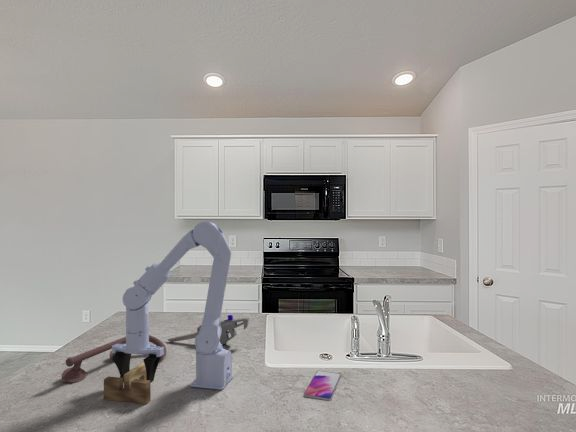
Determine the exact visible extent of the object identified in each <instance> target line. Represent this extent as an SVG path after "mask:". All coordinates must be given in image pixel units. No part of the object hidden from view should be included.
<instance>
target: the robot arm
mask: <svg viewBox="0 0 576 432" xmlns="http://www.w3.org/2000/svg"><path fill="white" fill-rule="evenodd" d="M199 246H201V247H203V248H204V249H206V250H207V251H208V253H209V254H210V255H211V256H212V257H213V261H212V266H211V273H210V277H209V283H208V284H209V285H208V289H207V294H206V300H205V307H204V313H203V316H202V317H203V318H202V322H201V324H200V325H201V328H200V331H199V333H198V335H197V336H196V338H194V345H195V379H194V380H193V381H192V382H191V383H189V387H191V388H200V389H211V390H220V391H221V390H224V388H225V387H226V386H227V385H228V384H229V383H230V381H231V380H232V378H233V377H234V375H233V354H232V351H231V350H227V349H225V348H223V345H222V344H221V343H220V341H219V340H220V336H221V334H222V328H221V325H220V321H222V320H221V317H222V311H223V304H224V300H225V295H226V294H225V293H226V287H227V281H228V275H229V269H230V263H231V258H232V250H231V248H230V245H229V243H228V240H227V239H226V236H225V233H224V231H223V230H222V229H221V228H220V227H219V226H218V225H217V223H215V222H213V221H200V222H198V223H197V224H196V225H195V226H194V227H193V229H190V230H189V231H188V232H187V233H186V234H185V235H184V236H182V237H181V239H180V240H179V241H178V242H177V243H176V244H175V246H173V248H172V249H171V250H170V251H169V253H168V254H167V255H166V256H165V257H164V259H163V260H162V261H161V262H159V263H157V262H156V263H155V262H154V263H153V264H151V265H148V266H146V267H145V269H144V270H145V271H144V273H143V274H142V275H141V276H140V277H139V278H138V279H136V280H134V281H133V283H132V284H133V285H134V286H131V287H129V288H127V289H126V290H125V292H124V293H123V295H122V304H123V305H124V306H125V337H126V344H115V345H113V346H112V349H111V351H112V353H116V354H115V356H113V357H112V359H111V360H112V361H113V363H114V364H115V366H116V368H117V370H118V373H119V377H120V376H121V378H123V381H124V374H126V373H127V372H129V371H130V370H131V369H130V365H131V359H132V355H133V354H134V355H141V356H142V355H143V356H146V357H145V358H144V359H143V362H144V364H145V368H146V380H150V384H151V383H153V382H154V380H155V375H156V372H157V369H158V366H159V364H160V360H161V358H162V355H163V354H164V347H159V346H156V345H155V344H153V343H151V344H150V342H149V335H150V318H149V317H150V315H149V313H150V312H149V302H150V301H151V300H152V296H154V294H156V292H158V291H159V289H160V288H161V287H162V286H164V284H165V283H166V282H167V281H168V279H170V276H171V275H170V272H171V271H170V270H171V269H172V268H173V267H174V266H175V265H176V264H177V263H179V261H180V260H181V259H182V258H183V257H184V256H185V255H187V253H188V252H189V251H190V250H192V249H194V248H197V247H199Z"/></svg>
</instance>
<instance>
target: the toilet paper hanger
mask: <svg viewBox="0 0 576 432" xmlns="http://www.w3.org/2000/svg"><path fill="white" fill-rule="evenodd" d="M149 343H151V344H152V345H155V346H159V347H164V354H163V355H162V358H161V360H160V362H162V361H163V360H164V359H165V357H166V356H167V348H166V345H165V344H164V342H163V341H161V340H160V339H159V338H157V337H155V336H153V335H150V334H149ZM115 344H126V336H124V337H121V338H119V339H116V340H113V341H111V342H108V343H106V344H104V345H99V346H98V347H95V348H92V349H90V350H88V351H85V352H82V353H80V354H77V355H75V356H72V357H67V358H66V360H65V365H66V366H67V368H66V369H64V370H63V372H62V373H61V379H62V381H63V382H66V383H67V384H76V383H78V382H82V381H83V380H85V378H86V377H87V372H86V370H85V369H83V368H81V366H82V363H83V361H85V360H88V359H90V358H92V357H95V356H97V355H100V354H102V353H105V352H107V351H109V350H111V351H110V352H109V358H110V359H111V360H112V357H113V356H115V354H116V353H112V346H113V345H115ZM160 362H159V363H160ZM119 378H121V376H120V375H119ZM123 383H124V381H123Z"/></svg>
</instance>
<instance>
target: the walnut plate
mask: <svg viewBox="0 0 576 432" xmlns="http://www.w3.org/2000/svg"><path fill="white" fill-rule="evenodd" d="M151 398H152V397H151V383H150V380H140V379H134V380H133V381H131V389H130V388H124V382H123V378H120V376H107V377H106V378H103V400H106V401H113V402H125V403H133V404H140V405H141V404H144V405H147V404H149V403H150V402H151Z"/></svg>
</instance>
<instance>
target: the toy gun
mask: <svg viewBox="0 0 576 432" xmlns="http://www.w3.org/2000/svg"><path fill="white" fill-rule="evenodd" d="M249 318H250V317H241V318H234V316H233V315H232V314H228V315H227V318H226V319H224V320H220V325H221V328H222V334H221V336H220V340H219V341H220V343H221V344H222V346H223V345H226V344H227V343H228V342H229V341H231V340H232V339H233V338H235V337H236V336H237V331H236V328H238V327H241V326H243V330H246V329H247V328H248V326H249ZM201 325H202V324H200V325H199V326H198V327H197V328H196V331H195V332H190V333H187V334H186V333H185V334H181V335H177V336H173V337H170V338H167V341H169V343H175V342H180V341H186V340H191V339H195V338H196V336H197V335H198V333H199V331H200V328H201ZM229 334H230V336H229Z"/></svg>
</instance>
